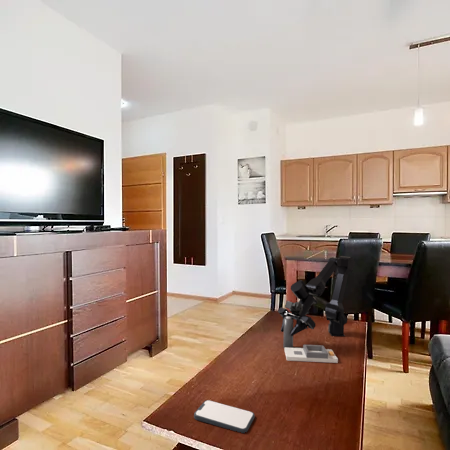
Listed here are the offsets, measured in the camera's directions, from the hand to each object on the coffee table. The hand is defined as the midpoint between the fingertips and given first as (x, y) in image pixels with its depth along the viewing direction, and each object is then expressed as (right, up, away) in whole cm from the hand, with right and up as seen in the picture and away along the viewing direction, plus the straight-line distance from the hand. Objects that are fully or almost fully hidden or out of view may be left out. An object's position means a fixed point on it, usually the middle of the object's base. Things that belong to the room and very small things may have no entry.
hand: (286, 333), depth 141 cm
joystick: (+1, -7, +1) cm, 7 cm away
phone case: (-27, -8, -50) cm, 57 cm away
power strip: (+8, -7, -8) cm, 14 cm away
